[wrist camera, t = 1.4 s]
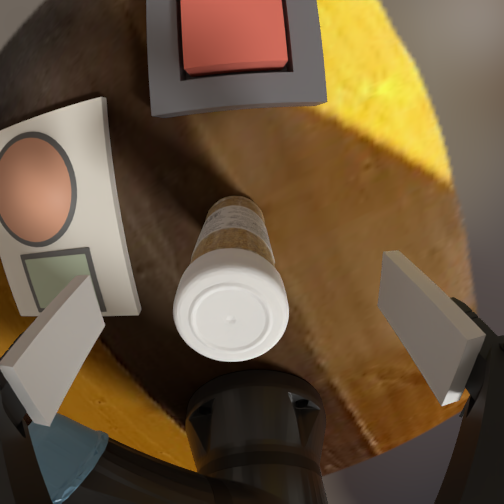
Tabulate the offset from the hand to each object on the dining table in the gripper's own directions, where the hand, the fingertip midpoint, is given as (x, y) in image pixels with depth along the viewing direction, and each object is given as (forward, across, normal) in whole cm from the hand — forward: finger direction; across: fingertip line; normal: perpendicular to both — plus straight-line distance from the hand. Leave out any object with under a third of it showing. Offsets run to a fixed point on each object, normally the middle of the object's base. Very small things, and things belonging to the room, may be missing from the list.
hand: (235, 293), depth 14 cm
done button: (+10, -1, -14) cm, 17 cm away
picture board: (+12, +16, -2) cm, 20 cm away
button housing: (+12, -1, -14) cm, 18 cm away
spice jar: (+12, 0, 0) cm, 12 cm away
